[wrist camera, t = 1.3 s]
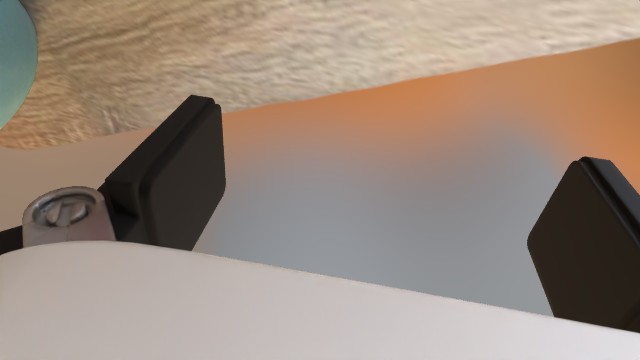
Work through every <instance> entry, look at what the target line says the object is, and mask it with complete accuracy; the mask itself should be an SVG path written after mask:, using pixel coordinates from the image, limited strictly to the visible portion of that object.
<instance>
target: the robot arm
mask: <svg viewBox="0 0 640 360" xmlns="http://www.w3.org/2000/svg"><path fill="white" fill-rule="evenodd" d="M225 186H226V178H225V162H224V146H223V130H222V114H221V107H220V105H219V104H215V101H214V99H213V98H209V97H202V96H196V95H190V96H189V97H188V98H187V99H186V100H185V101H184V102H183V103H182V104H181V105H180V106H179V107H178V108H177V109H176V110H175V111H174V112H173V113H172V114H171V115H170V116H169V117H168V118H167V119H166V120H165V121H164V122H163V123H162V124H161V125H160V126H159V127H158V128H157V129H156V130H155V131H154V132H153V133H152V134H151V135H150V136H149V137H147V138H146V139H145V141H144V142H142V143H141V144H140V145H139V146H138V147H137V148H136V149H135V150H134V151H133V152H132V153H131V154H130V155H129V156H128V157H127V158H126V159H125V160H124V161H123V162H122V163H121V164H120V165H119V166H118V167H117V168H116V169H115V170H114V171H113V172H112V173H111V174H110V175H109V176H108V177H107V178H106V179H105V183H103V184H102V185H101V186H100V187H99V188H98V189H97V190H95V189H93V188H89V187H83V186H72V187H66V188H60V189H57V190H54V191H50V192H48V193H46V194H44V195H42V196H40V197H38V198H37V199H35V200H34V201H33V202H32V203H30V204H29V205H28V207H27V208H26V209H25V211H24V214H23V218H22V225H21V226H18V227H15V228H11V229H8V230H5V231H1V232H0V360H640V195H639V194H638V193H637V192H636V190H635V189H634V188H633V187H632V185H631V184H629V182H628V181H627V180H626V178H625V177H624V176H623V175H622V173H621V172H620V171H619V170H618V169H617V167H616V166H615V165H614V164H613V163H612V162H611V161H610V160H604V159H598V158H591V157H582V158H581V159H579V160H578V161H573V162H572V163H571V164H570V165H569V167H568V169H567V171H566V172H565V174H564V176H563V177H562V179H561V181H560V182H559V184H558V186H557V188H556V189H555V191H554V193H553V194H552V196H551V198H550V200H549V201H548V203H547V205H546V207H545V208H544V210H543V212H542V213H541V215H540V217H539V218H538V220H537V222H536V224H535V225H534V227H533V229H532V230H531V232H530V234H529V236H528V240H527V246H528V250H529V252H530V255H531V258H532V260H533V263H534V265H535V268H536V271H537V273H538V276H539V278H540V281H541V283H542V286H543V289H544V291H545V294H546V297H547V299H548V302H549V304H550V307H551V310H552V312H553V315H554V317H550V316H545V315H539V314H534V313H528V312H523V311H518V310H513V309H507V308H501V307H497V306H491V305H486V304H480V303H475V302H470V301H464V300H459V299H453V298H448V297H442V296H437V295H431V294H426V293H420V292H415V291H409V290H404V289H399V288H393V287H388V286H382V285H377V284H371V283H365V282H360V281H354V280H349V279H344V278H338V277H333V276H326V275H321V274H315V273H310V272H304V271H299V270H293V269H288V268H282V267H276V266H271V265H265V264H260V263H254V262H247V261H243V260H236V259H232V258H226V257H220V256H215V255H209V254H203V253H198V252H192V249H193V248H194V246H195V244H196V242H197V241H198V239H199V237H200V235H201V234H202V232H203V230H204V228H205V226H206V225H207V223H208V221H209V219H210V218H211V216H212V214H213V212H214V210H215V209H216V207H217V205H218V203H219V202H220V200H221V198H222V196H223V194H224V191H225Z"/></svg>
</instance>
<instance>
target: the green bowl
mask: <svg viewBox="0 0 640 360" xmlns="http://www.w3.org/2000/svg"><path fill="white" fill-rule="evenodd" d="M37 62H38V41H37V35H36V31H35V28H34V25H33V23H32V21H31V18H30V16H29V15H28V13H27V11H26V10H25V8H24V7H23V6H22V4H21V3H20V2H19V1H18V0H0V129H1V128H2V127H3V126H4V125H5V124H6V123H7V122H8V121H9V120H10V119H11V118H12V117H13V115H14V114H15V113H16V112H17V110H18V109H19V108H20V106H21V105H22V103H23V102H24V100H25V98H26V96H27V95H28V93H29V91H30V88H31V86H32V84H33V81H34V78H35V74H36V70H37Z"/></svg>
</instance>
